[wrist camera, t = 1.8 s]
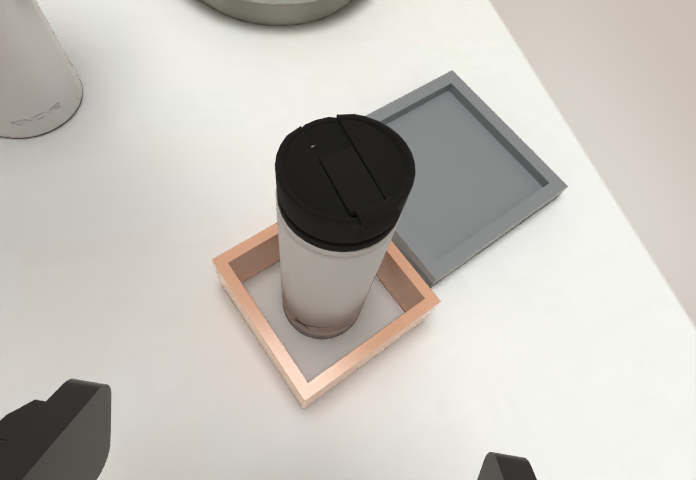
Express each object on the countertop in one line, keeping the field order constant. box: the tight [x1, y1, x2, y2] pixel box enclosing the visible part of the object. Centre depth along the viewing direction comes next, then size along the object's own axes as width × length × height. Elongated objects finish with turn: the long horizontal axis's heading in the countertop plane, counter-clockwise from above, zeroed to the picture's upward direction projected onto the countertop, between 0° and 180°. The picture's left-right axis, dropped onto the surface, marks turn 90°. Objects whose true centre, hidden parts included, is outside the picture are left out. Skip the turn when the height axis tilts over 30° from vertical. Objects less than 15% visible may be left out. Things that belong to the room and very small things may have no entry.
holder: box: [212, 222, 441, 409], centre depth 36 cm, size 12×12×5 cm
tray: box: [366, 70, 568, 288], centre depth 44 cm, size 16×16×2 cm
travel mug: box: [275, 114, 416, 339], centre depth 29 cm, size 6×7×20 cm
